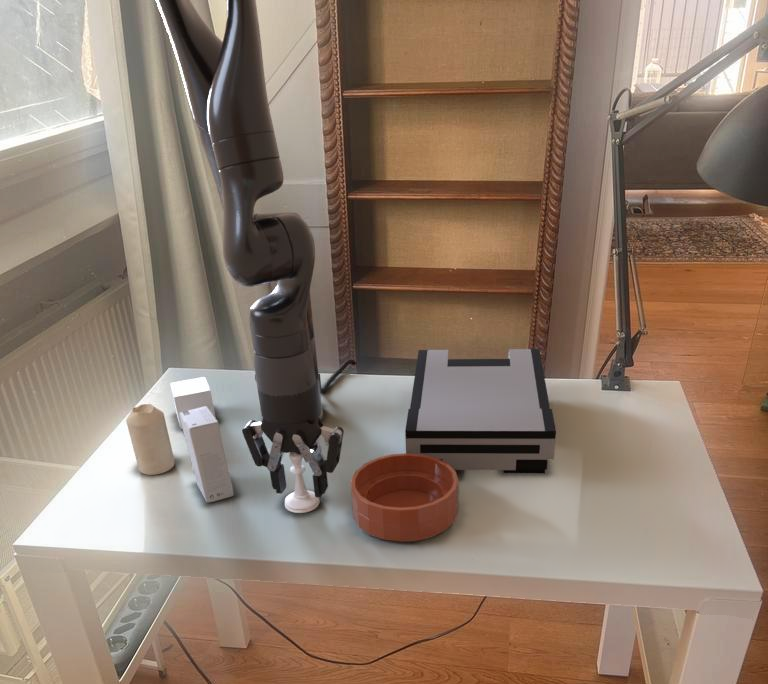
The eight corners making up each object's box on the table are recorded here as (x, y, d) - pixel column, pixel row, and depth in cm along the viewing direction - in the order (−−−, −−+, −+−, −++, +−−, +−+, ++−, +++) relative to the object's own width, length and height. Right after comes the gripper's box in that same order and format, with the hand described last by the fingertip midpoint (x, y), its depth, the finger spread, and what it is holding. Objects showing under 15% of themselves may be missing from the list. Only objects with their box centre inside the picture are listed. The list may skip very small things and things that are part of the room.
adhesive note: (211, 408, 138) (205, 376, 134) (216, 422, 133) (210, 390, 129) (176, 414, 136) (169, 382, 133) (180, 429, 131) (173, 397, 128)
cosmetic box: (235, 496, 113) (221, 421, 106) (205, 504, 112) (189, 429, 105) (223, 476, 118) (209, 404, 111) (194, 484, 116) (178, 411, 109)
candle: (165, 476, 119) (151, 417, 113) (132, 474, 120) (116, 415, 114) (180, 458, 123) (167, 400, 118) (148, 456, 124) (134, 398, 119)
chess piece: (285, 495, 113) (276, 434, 107) (319, 492, 113) (312, 431, 107) (284, 514, 108) (275, 451, 103) (319, 511, 109) (312, 448, 103)
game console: (536, 386, 138) (539, 342, 134) (551, 481, 112) (555, 431, 108) (419, 386, 141) (418, 343, 136) (407, 480, 114) (405, 430, 110)
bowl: (369, 482, 114) (366, 449, 111) (465, 491, 111) (466, 457, 108) (340, 538, 103) (337, 503, 100) (447, 550, 100) (447, 514, 97)
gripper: (348, 372, 101) (357, 483, 111) (245, 365, 105) (262, 474, 114) (330, 397, 95) (341, 512, 105) (222, 389, 99) (242, 502, 108)
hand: (300, 492), depth 109 cm, fingers open, 5 cm apart
